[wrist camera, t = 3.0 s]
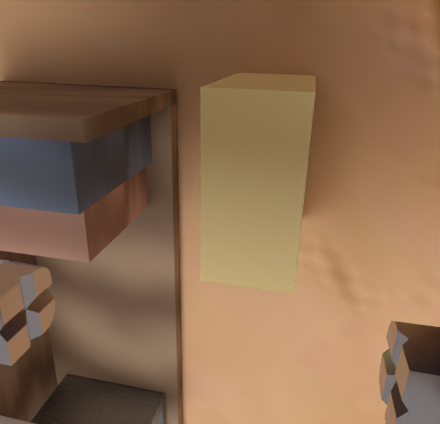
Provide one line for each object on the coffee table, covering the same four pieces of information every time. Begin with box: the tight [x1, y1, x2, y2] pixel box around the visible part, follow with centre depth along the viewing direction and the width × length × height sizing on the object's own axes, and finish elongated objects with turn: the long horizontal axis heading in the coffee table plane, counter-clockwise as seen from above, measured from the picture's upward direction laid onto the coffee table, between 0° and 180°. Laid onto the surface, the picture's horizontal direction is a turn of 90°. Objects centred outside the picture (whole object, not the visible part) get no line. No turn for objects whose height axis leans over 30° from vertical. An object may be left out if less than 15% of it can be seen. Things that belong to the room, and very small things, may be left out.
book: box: [200, 73, 316, 294], centre depth 19 cm, size 4×8×8 cm, turn 179°
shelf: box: [0, 81, 183, 424], centre depth 24 cm, size 26×11×10 cm, turn 179°
